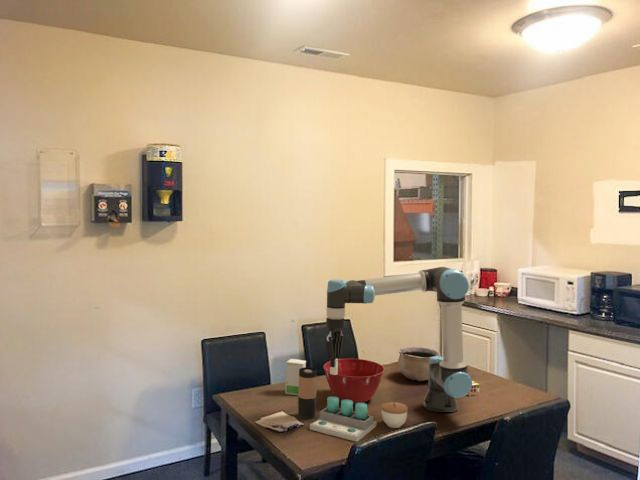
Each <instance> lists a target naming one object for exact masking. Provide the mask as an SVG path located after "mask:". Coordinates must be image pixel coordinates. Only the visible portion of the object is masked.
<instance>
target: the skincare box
mask: <svg viewBox="0 0 640 480" xmlns="http://www.w3.org/2000/svg"><path fill="white" fill-rule="evenodd" d="M306 364H307V360H302V359H296V358H290V359H288V360H287V361H286V371H285V386H284V387H285V389H284V391H285V392H284V394H286V395H294V396H298V391H299V369H300V368H304V367H306V366H307V365H306Z"/></svg>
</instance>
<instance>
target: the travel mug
mask: <svg viewBox="0 0 640 480" xmlns="http://www.w3.org/2000/svg"><path fill="white" fill-rule="evenodd" d="M317 373H318V370H317V369H316V368H314V367H310V366H309V367H304V368H300V369H299V391H298V395H297V397H298V398H297V400H298V403H297V404H298V407H297V409H298V411H297V413H298V418H300V419H303V420H312V419H314V418H315V417H316V407H317V406H316V404H317V382H318V381H317V376H318V375H317Z"/></svg>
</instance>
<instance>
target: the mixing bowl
mask: <svg viewBox="0 0 640 480" xmlns="http://www.w3.org/2000/svg"><path fill="white" fill-rule="evenodd" d="M322 368H323V370H324V374H325V377H326V381H327V384H328V386H329V388H330V391H331V393H332V395H333V396H334V397H338V398H339V402H341V401H342V400H352V401H353V405H355V404H356V403H366V402H368V401H369V400H371V399H372V398H373V397H374V395H375V394H376V392H377V390H378V389H379V386H380V383H381V381H382V378H383V375H384V372H385V367H384V366H383V365H382V364H380V363H378V362H376V361H371V360H368V359H362V358H361V359H360V358H338V374H337V375H333V374H330V360H329V361H327V362H326V363H325V364H324V365H323V367H322Z"/></svg>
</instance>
